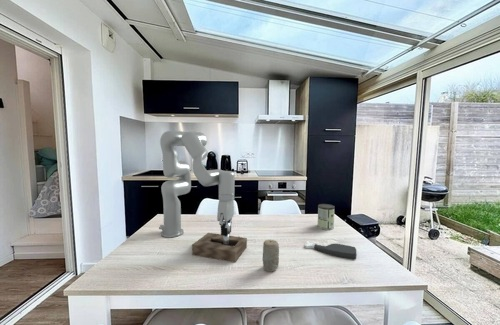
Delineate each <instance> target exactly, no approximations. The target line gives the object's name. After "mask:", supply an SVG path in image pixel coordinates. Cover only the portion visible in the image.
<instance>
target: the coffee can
mask: <svg viewBox="0 0 500 325" xmlns="http://www.w3.org/2000/svg"><path fill="white" fill-rule="evenodd" d="M317 228H318V229H320V230H325V231H326V230H328V231H330V230H334V229H335V205H333V204H328V203H319V204H318V205H317Z"/></svg>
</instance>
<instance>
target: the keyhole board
mask: <svg viewBox="0 0 500 325" xmlns="http://www.w3.org/2000/svg"><path fill="white" fill-rule="evenodd" d="M247 244H248V238H247V237H242V236H234V235H229V246H226V245H223V236H222V235H221V233H214V232H207V233H205V235H203V236H202V237H200V238H199V239H198V240H197V241H195V242H194V243H193V244H192V247H191V249H192V250H191V254H192V256H196V257H203V258H208V259H213V260H219V261H225V262H231V263H237V261H238V260H239V259H240V258H241V256H242V255H243V253H244V252H245V251H246V249H247V248H248V245H247Z"/></svg>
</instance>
